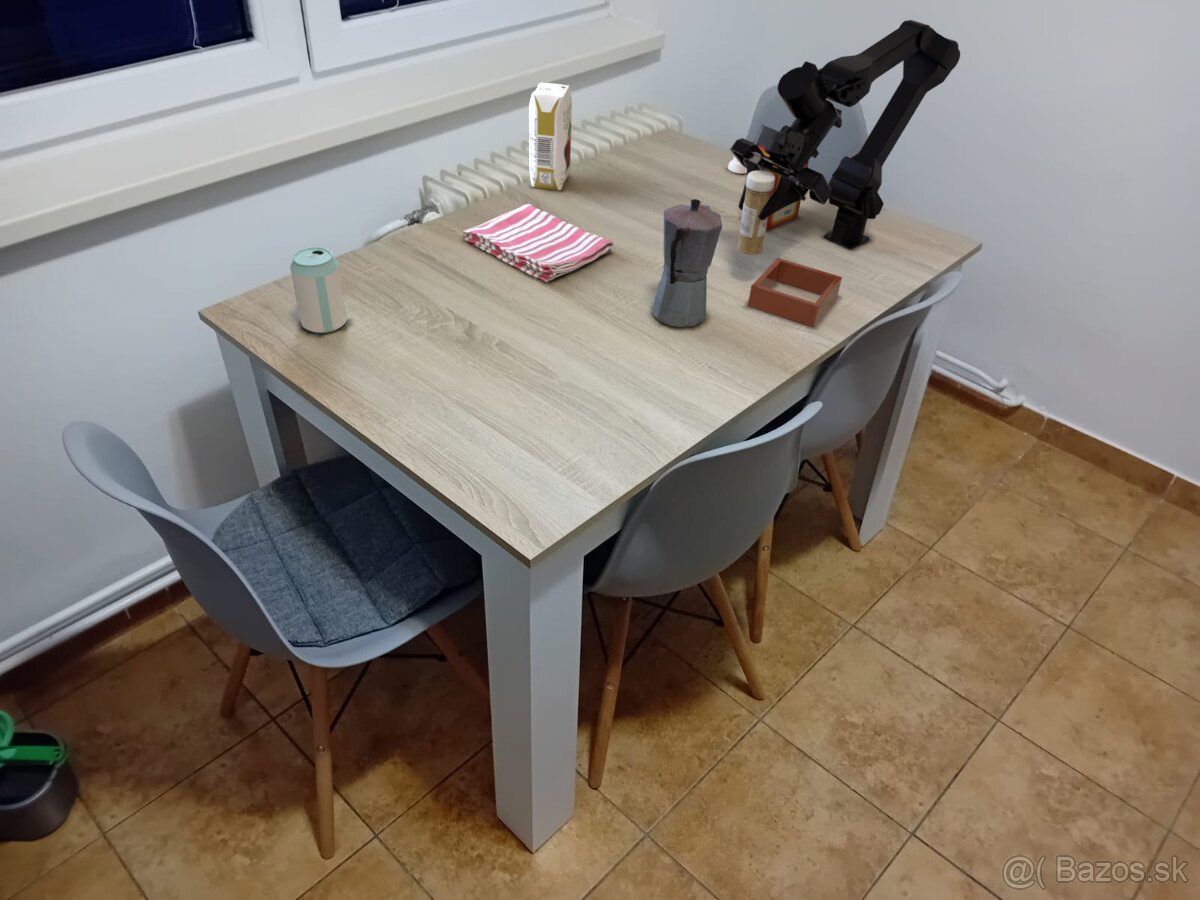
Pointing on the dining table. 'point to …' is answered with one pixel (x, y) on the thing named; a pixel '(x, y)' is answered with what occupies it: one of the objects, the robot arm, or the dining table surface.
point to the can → (318, 290)
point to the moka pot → (686, 263)
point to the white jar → (736, 166)
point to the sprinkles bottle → (755, 212)
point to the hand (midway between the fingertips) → (749, 213)
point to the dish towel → (537, 242)
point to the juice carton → (550, 135)
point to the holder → (793, 305)
